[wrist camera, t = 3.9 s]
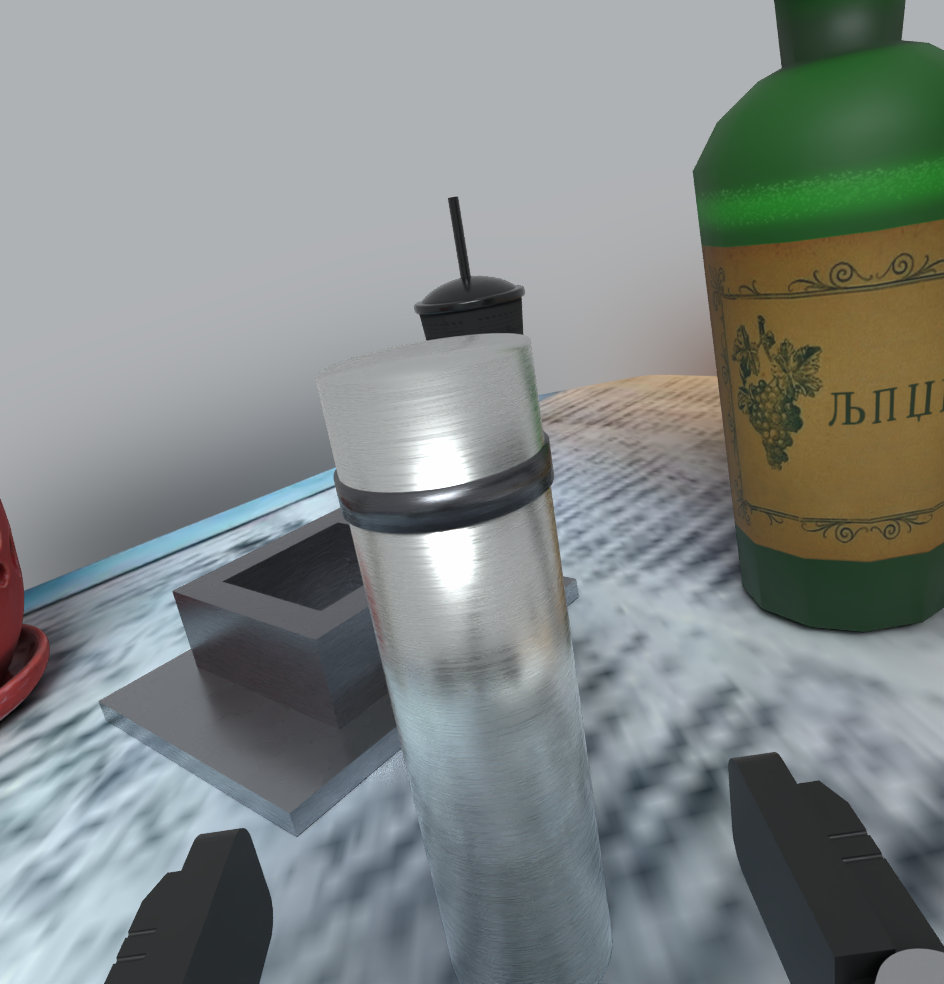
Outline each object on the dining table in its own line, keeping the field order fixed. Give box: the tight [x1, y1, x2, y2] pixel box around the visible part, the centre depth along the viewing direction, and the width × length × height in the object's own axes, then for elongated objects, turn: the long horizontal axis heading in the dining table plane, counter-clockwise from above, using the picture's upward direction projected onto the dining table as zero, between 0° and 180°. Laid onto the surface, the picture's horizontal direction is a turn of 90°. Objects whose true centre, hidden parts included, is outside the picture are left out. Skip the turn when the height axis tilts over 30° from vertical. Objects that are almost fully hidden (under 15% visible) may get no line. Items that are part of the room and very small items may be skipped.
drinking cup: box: [414, 197, 525, 341], centre depth 54 cm, size 8×8×20 cm
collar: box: [99, 508, 578, 837], centre depth 36 cm, size 18×14×5 cm
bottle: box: [693, 0, 944, 632], centre depth 30 cm, size 11×11×28 cm
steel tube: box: [315, 333, 612, 984], centre depth 18 cm, size 5×5×16 cm
